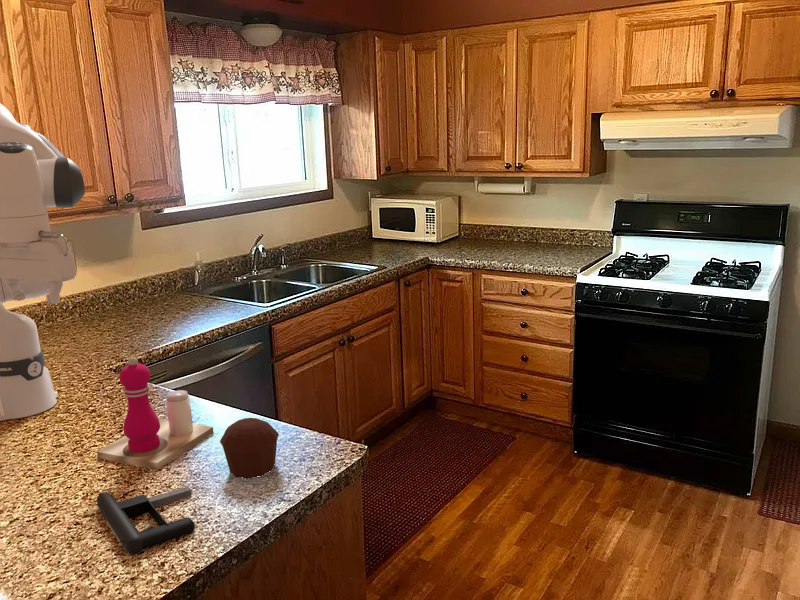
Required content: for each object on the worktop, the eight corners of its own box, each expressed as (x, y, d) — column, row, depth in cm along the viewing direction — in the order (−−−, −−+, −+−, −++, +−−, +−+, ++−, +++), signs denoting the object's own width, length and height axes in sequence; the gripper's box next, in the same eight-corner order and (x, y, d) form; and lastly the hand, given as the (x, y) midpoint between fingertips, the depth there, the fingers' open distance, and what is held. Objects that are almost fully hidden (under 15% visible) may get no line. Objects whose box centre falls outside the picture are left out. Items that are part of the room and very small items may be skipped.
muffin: (293, 464, 134) (289, 419, 131) (250, 488, 125) (245, 439, 123) (254, 449, 141) (250, 406, 138) (211, 470, 132) (206, 424, 130)
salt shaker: (165, 434, 146) (160, 396, 144) (180, 425, 151) (175, 388, 148) (183, 437, 144) (178, 399, 142) (198, 428, 149) (193, 391, 147)
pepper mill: (166, 438, 144) (155, 351, 139) (156, 453, 137) (144, 362, 132) (133, 439, 144) (121, 352, 139) (121, 455, 137) (107, 364, 132)
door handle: (176, 471, 129) (88, 495, 119) (218, 513, 113) (120, 545, 104) (177, 486, 129) (89, 512, 120) (218, 531, 114) (122, 564, 104)
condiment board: (97, 458, 139) (96, 451, 139) (157, 423, 156) (157, 417, 155) (157, 469, 134) (156, 462, 133) (213, 433, 150) (212, 426, 149)
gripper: (78, 229, 124) (89, 300, 127) (2, 227, 131) (14, 294, 135) (50, 234, 118) (62, 309, 121) (-29, 231, 126) (-15, 302, 129)
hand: (36, 301), depth 128 cm, fingers open, 8 cm apart
